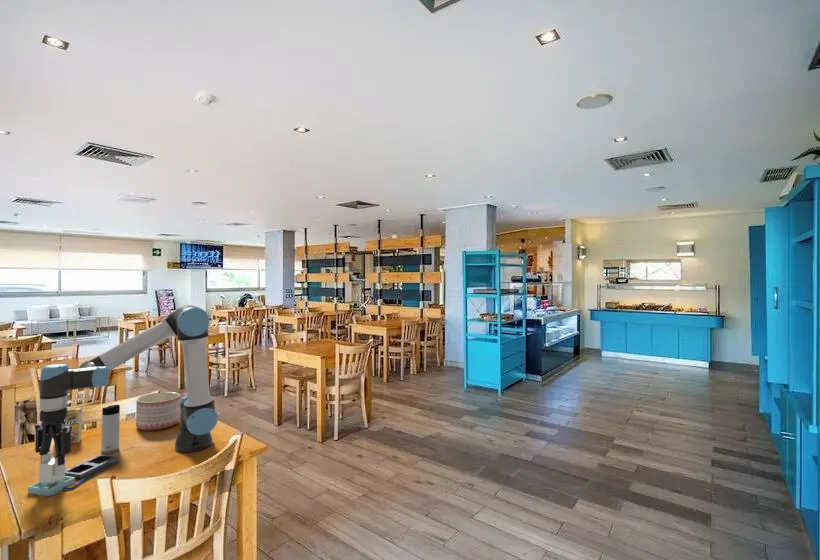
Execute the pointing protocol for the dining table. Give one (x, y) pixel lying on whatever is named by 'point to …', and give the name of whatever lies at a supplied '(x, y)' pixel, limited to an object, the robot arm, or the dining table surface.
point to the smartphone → (77, 481)
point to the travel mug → (110, 429)
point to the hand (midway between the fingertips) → (52, 472)
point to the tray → (50, 491)
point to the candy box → (74, 423)
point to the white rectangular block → (49, 474)
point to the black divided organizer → (91, 466)
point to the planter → (157, 411)
